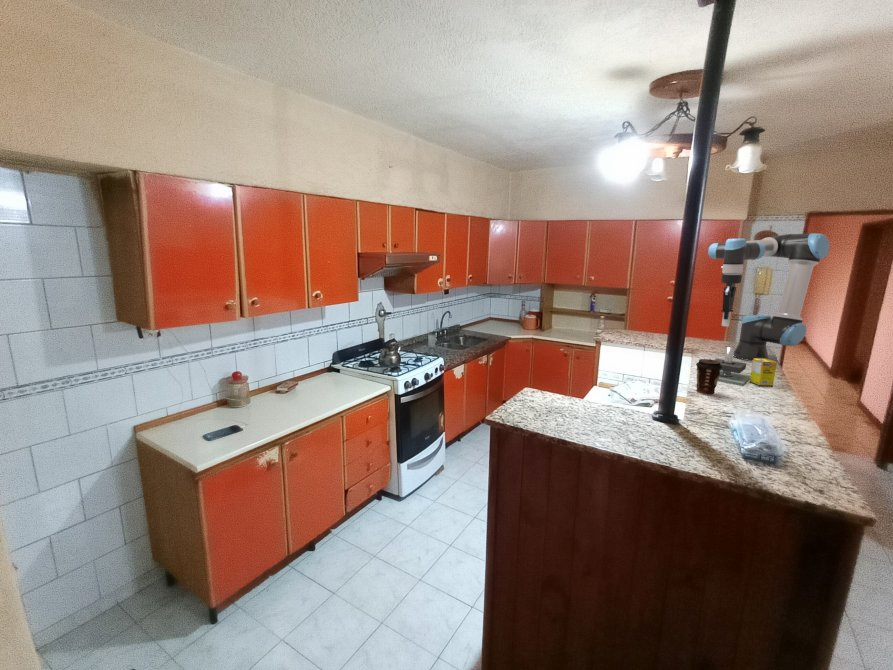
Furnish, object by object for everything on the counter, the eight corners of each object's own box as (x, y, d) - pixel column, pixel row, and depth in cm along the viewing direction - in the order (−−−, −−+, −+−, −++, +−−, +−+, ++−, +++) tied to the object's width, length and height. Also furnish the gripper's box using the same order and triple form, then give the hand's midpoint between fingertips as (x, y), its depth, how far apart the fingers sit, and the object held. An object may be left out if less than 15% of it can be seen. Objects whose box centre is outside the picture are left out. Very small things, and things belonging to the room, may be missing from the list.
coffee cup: (711, 389, 171) (716, 358, 169) (722, 396, 163) (727, 364, 161) (689, 388, 172) (693, 357, 169) (699, 395, 164) (703, 363, 161)
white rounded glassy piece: (721, 373, 190) (725, 345, 187) (733, 375, 187) (737, 347, 184) (719, 375, 187) (723, 347, 184) (730, 377, 184) (735, 349, 181)
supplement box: (773, 387, 175) (777, 362, 173) (758, 387, 175) (763, 361, 173) (762, 382, 181) (767, 358, 179) (748, 382, 181) (752, 358, 179)
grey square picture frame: (716, 363, 194) (716, 358, 194) (745, 368, 186) (746, 363, 186) (709, 368, 186) (709, 362, 186) (739, 373, 178) (740, 368, 178)
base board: (710, 370, 198) (710, 368, 198) (751, 378, 187) (751, 375, 187) (700, 377, 187) (700, 375, 187) (743, 386, 176) (743, 383, 176)
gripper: (725, 272, 194) (719, 322, 199) (718, 274, 185) (712, 327, 190) (745, 273, 189) (738, 324, 194) (738, 275, 180) (731, 329, 185)
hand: (725, 325), depth 192 cm, fingers closed
